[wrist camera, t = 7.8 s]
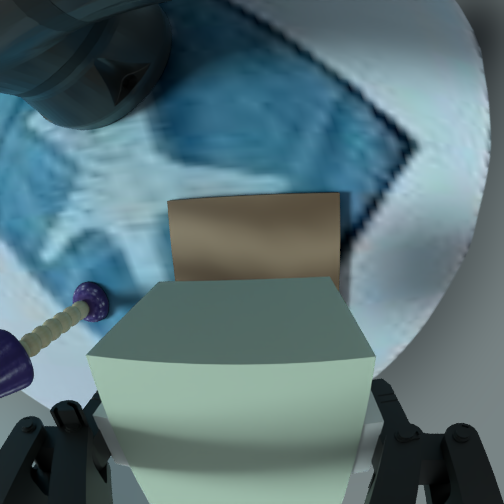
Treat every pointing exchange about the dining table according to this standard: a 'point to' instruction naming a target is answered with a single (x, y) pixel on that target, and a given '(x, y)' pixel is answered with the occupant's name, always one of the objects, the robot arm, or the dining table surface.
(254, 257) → the walnut board
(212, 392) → the sage block
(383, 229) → the dining table surface
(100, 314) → the toy lamp
